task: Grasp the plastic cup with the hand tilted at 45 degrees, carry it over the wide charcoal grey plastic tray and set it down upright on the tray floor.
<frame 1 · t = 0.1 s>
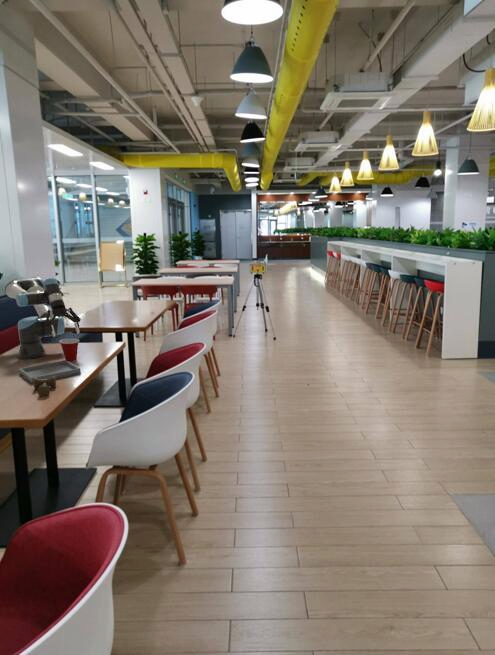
hand: (66, 334, 286), 15 cm above the table, tool tilted 35°, fingers open, 13 cm apart
plastic cup: (71, 360, 288), on the table
grey tray: (50, 374, 261), on the table
kendama: (45, 391, 233), on the table
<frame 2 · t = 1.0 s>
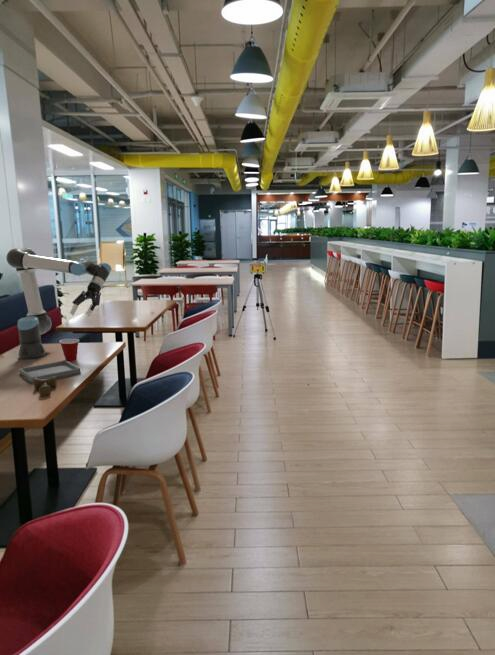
hand: (79, 314, 291), 25 cm above the table, tool tilted 45°, fingers open, 13 cm apart
nothing on the table moved.
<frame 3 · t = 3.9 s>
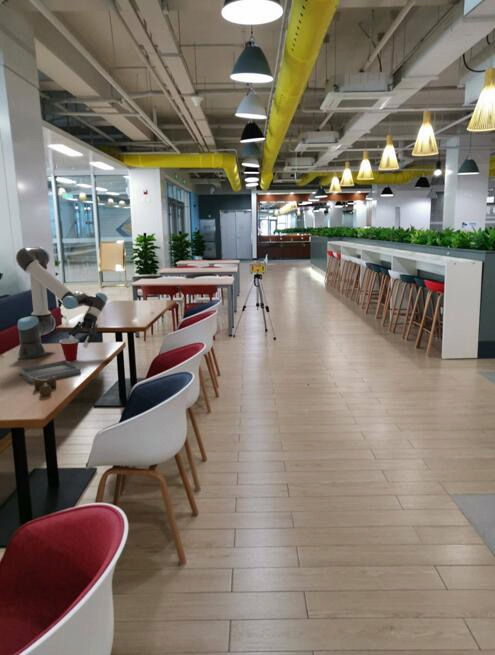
hand: (75, 346, 288), 8 cm above the table, tool tilted 45°, fingers open, 13 cm apart
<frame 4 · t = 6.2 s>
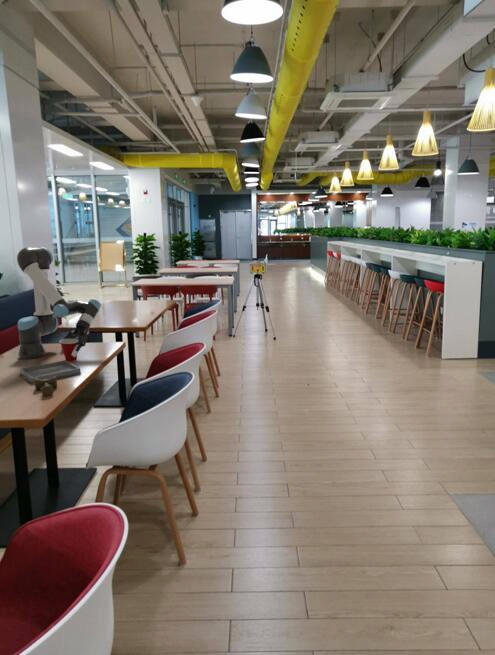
hand: (66, 355, 284), 4 cm above the table, tool tilted 45°, fingers closed on plastic cup, 9 cm apart
plastic cup: (71, 360, 288), on the table, touching gripper
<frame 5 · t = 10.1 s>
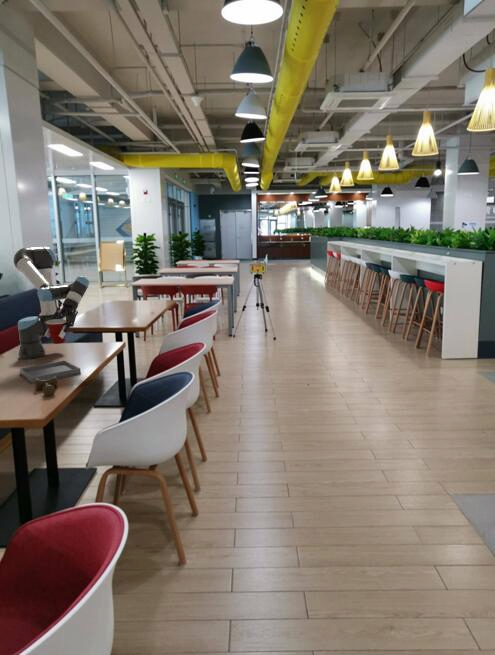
hand: (53, 336, 262), 19 cm above the table, tool tilted 45°, fingers closed on plastic cup, 9 cm apart
plastic cup: (59, 342, 266), point 15 cm above the table, touching gripper
when the fingers open (5 cm above the table, at t = 14.1 s): plastic cup stays where it is, resting on grey tray.
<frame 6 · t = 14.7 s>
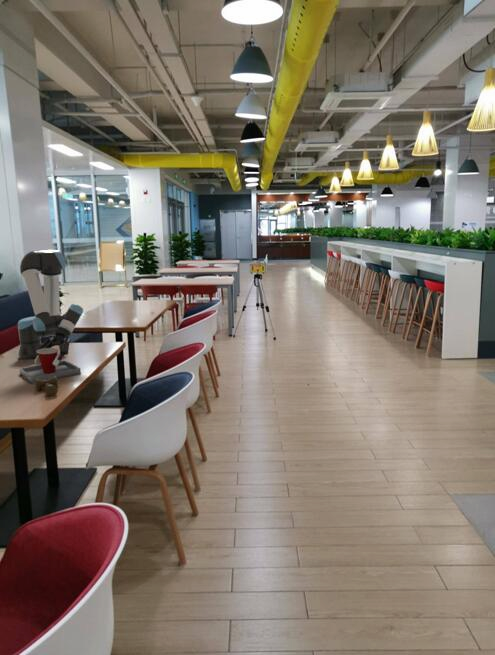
hand: (45, 364, 258), 6 cm above the table, tool tilted 45°, fingers open, 13 cm apart
plastic cup: (50, 372, 261), point 1 cm above the table, touching grey tray
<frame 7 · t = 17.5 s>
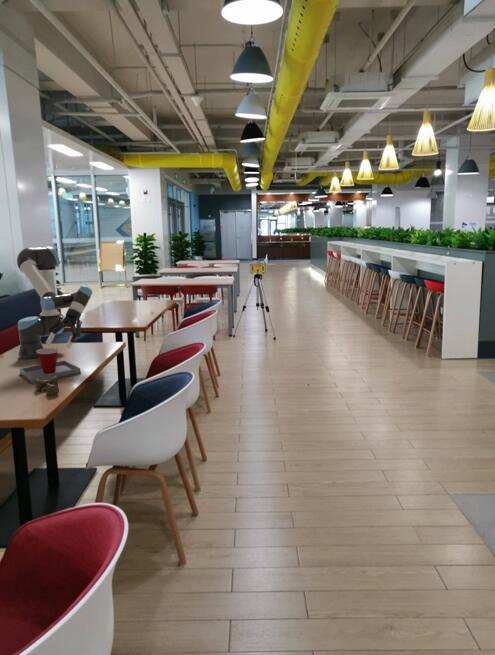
hand: (57, 345, 264), 14 cm above the table, tool tilted 40°, fingers open, 13 cm apart
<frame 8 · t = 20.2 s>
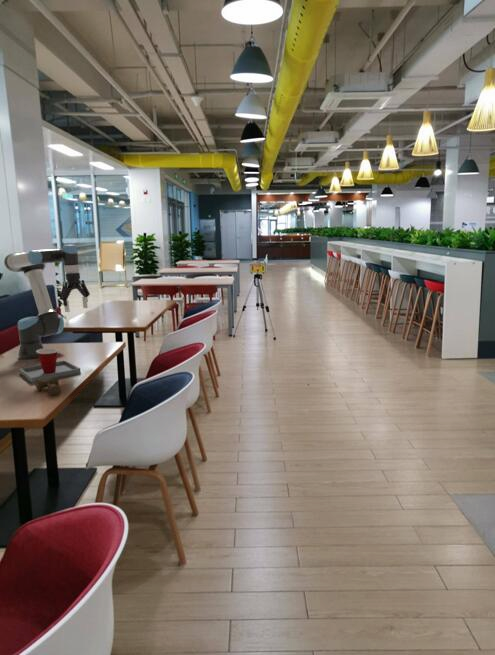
hand: (76, 309, 286), 29 cm above the table, tool pointing down, fingers open, 13 cm apart
at the end: plastic cup inside the target area on the grey tray (0.1 cm from its centre), point 0.8 cm above the grey tray's base; plastic cup tilted 0°; the gripper is holding nothing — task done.
